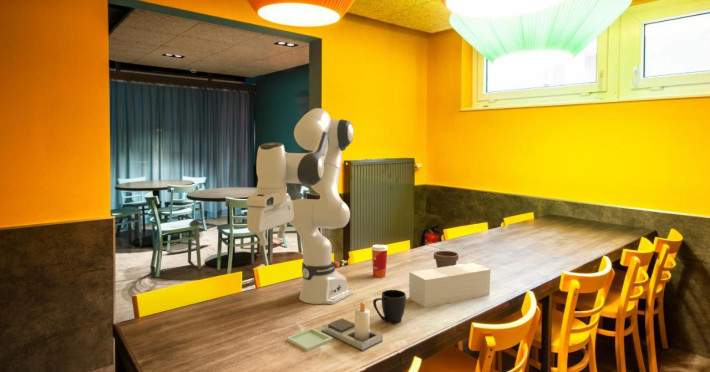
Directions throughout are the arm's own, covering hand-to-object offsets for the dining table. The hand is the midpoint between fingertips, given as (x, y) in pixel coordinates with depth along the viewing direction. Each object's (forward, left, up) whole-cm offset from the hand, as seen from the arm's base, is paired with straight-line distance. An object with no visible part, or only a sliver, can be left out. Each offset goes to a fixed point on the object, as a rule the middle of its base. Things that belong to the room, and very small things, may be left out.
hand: (272, 241), depth 130 cm
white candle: (-17, +22, -30) cm, 41 cm away
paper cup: (-70, -17, -31) cm, 78 cm away
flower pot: (-94, +3, -31) cm, 99 cm away
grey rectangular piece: (-17, +18, -31) cm, 39 cm away
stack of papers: (-71, +19, -31) cm, 80 cm away
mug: (-35, +18, -31) cm, 50 cm away
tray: (-6, +11, -31) cm, 33 cm away
